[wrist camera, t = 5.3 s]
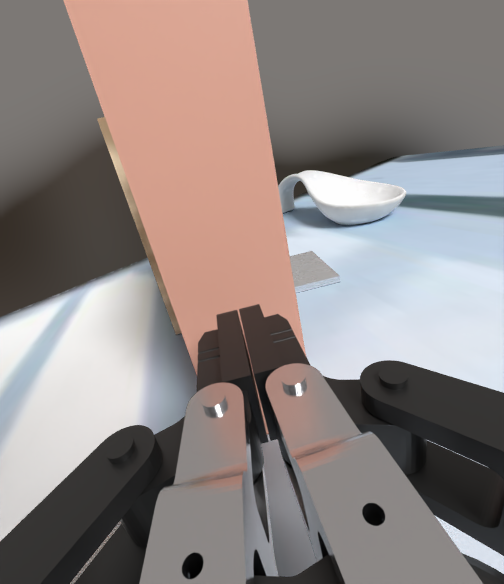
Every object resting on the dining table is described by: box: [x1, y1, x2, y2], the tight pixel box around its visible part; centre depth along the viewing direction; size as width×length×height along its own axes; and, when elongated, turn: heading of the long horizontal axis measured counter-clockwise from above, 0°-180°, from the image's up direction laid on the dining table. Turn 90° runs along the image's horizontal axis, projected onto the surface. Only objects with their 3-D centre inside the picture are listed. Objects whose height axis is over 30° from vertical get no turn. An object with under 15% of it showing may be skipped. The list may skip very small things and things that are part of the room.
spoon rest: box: [278, 171, 406, 225], centre depth 49 cm, size 24×12×7 cm, turn 34°
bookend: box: [290, 251, 340, 293], centre depth 30 cm, size 6×12×12 cm, turn 8°
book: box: [64, 0, 306, 434], centre depth 18 cm, size 5×14×18 cm, turn 8°
